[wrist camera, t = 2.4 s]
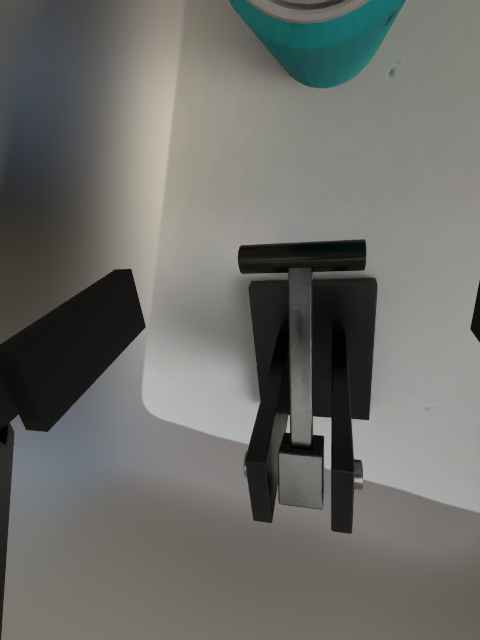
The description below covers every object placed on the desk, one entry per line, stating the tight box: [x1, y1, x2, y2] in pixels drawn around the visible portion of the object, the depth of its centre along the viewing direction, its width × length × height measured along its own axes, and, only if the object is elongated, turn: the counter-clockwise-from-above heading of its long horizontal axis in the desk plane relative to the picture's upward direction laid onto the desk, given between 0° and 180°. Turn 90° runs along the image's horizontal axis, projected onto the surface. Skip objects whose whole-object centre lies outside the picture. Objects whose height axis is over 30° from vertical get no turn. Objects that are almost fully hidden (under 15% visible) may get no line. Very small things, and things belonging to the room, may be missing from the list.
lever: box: [238, 239, 366, 509], centre depth 19 cm, size 13×6×2 cm, turn 6°
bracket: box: [244, 279, 377, 534], centre depth 24 cm, size 12×9×14 cm
